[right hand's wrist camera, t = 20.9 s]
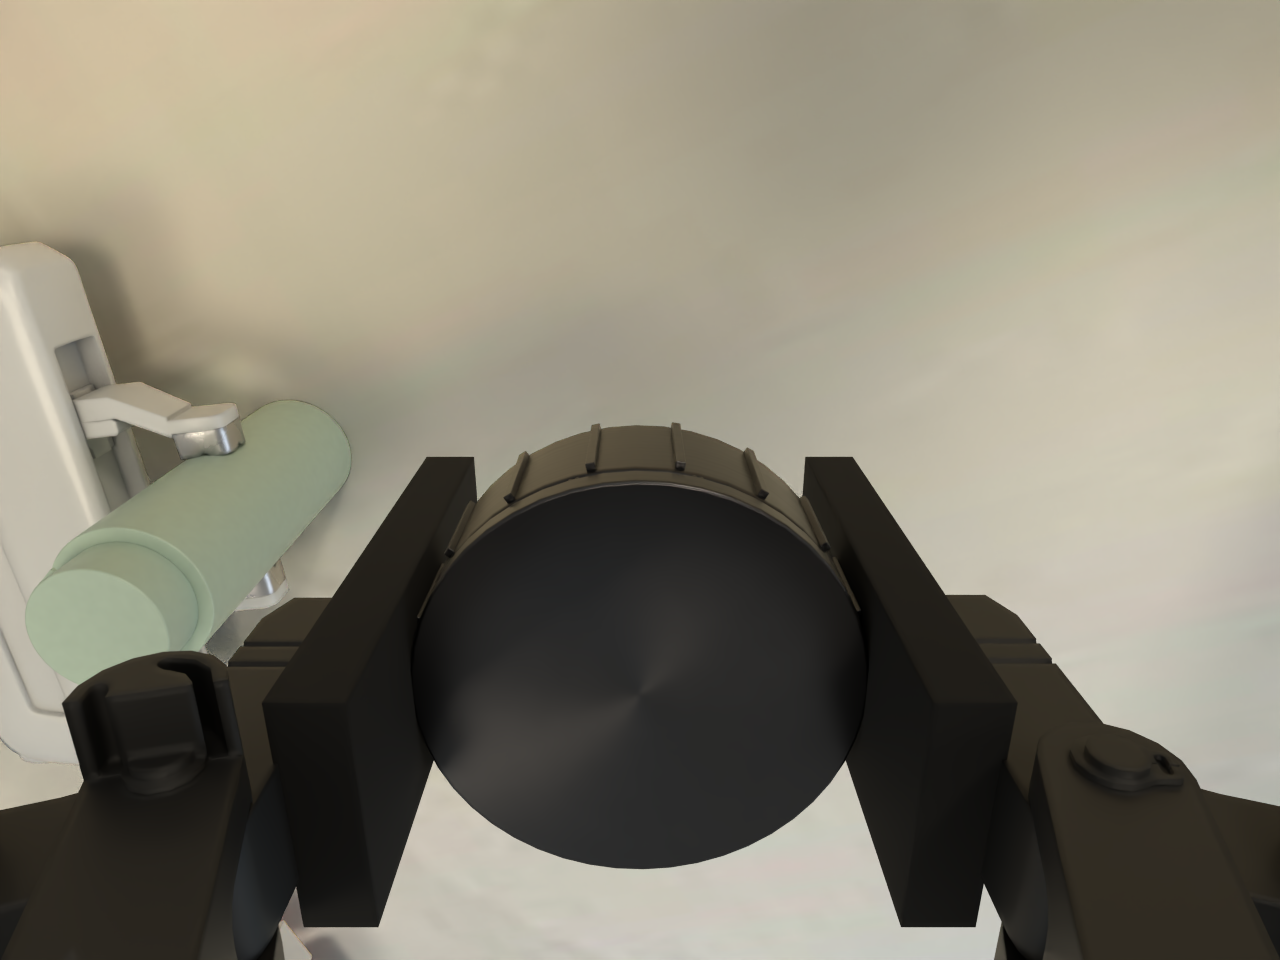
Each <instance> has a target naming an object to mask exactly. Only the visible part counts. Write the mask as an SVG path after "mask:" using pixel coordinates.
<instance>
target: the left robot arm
mask: <svg viewBox="0 0 1280 960" xmlns="http://www.w3.org/2000/svg"><path fill="white" fill-rule="evenodd" d="M133 426H137V427H140V428H143V429H146V430H149V431H152V432H155V433H158V434H160V435H163V436H166V437H169V438H173V439H174V442H175V445H176V447H177V450H178V453H179V456H180V459H181V460H182V459H192V458H197V457H200V456H202V455H203V454H207V455H209V456H219V455H224V454H228V453H230V452H233V451H234V450H236V449H237V447H238V445H242V444H244V443H245V442H246V440H245V436H244V433H243V429H242V425H241V421H240V417H239V413H238V410H237V407H236V404H235V403H231V402H230V403H221V404H211V405H202V406H192V405H191V403H189V402H187V401H184V400H182V399H180V398H177V397H175V396H173V395H170V394H168V393H166V392H163V391H161V390H159V389H156V388H154V387H152V386H149V385H147V384H145V383H142V382H132V383H123V384H116V382H115V379H114V376H113V373H112V370H111V367H110V364H109V361H108V358H107V355H106V352H105V349H104V346H103V343H102V340H101V337H100V335H99V332H98V329H97V326H96V323H95V320H94V317H93V314H92V311H91V308H90V305H89V302H88V299H87V296H86V293H85V290H84V287H83V284H82V281H81V278H80V275H79V272H78V269H77V267H76V265H75V263H74V262H73V261H72V260H71V259H70V258H68V257H67V256H65V255H64V254H62V253H60V252H58V251H56V250H54V249H53V248H51V247H49V246H47V245H45V244H43V243H41V242H36V241H34V242H27V243H19V244H12V245H5V246H0V739H1V740H2V742H3V743H4V744H5V745H6V746H7V747H8V748H9V749H11V750H12V751H14V752H15V753H17V754H19V755H20V758H21V759H23V760H24V761H26V762H30V763H38V764H43V763H59V764H73V765H79V762H78V758H77V755H76V751H75V748H74V745H73V741H72V738H71V734H70V731H69V727H68V724H67V720H66V717H65V713H64V710H63V706H62V702H63V701H64V700H65V699H66V698H67V697H68V696H69V695H70V694H71V692H72V691H73V690H74V689H75V688H76V687H77V686H78V684H76V683H74V682H72V681H70V680H68V679H66V678H64V677H63V676H61V675H60V674H58V673H57V672H56V671H54V670H53V669H52V668H51V667H50V666H49V665H48V664H46V663H45V661H44V660H43V659H42V658H41V657H40V656H39V654H38V653H37V651H36V650H35V649H34V647H33V645H32V643H31V641H30V639H29V636H28V633H27V629H26V625H25V609H26V605H27V602H28V599H29V597H30V595H31V593H32V592H33V590H34V589H35V587H36V586H37V585H38V584H39V583H40V582H41V581H42V579H43V578H44V577H45V576H46V574H47V573H48V572H49V571H50V569H52V566H53V563H54V561H55V559H56V557H57V555H58V554H59V552H60V551H61V549H62V548H63V547H64V546H65V545H66V544H67V543H68V542H70V541H71V540H72V539H74V538H75V537H76V536H78V535H79V534H81V533H82V532H84V531H85V530H86V529H88V528H89V527H91V526H92V525H94V524H95V523H97V522H98V521H99V520H101V519H102V518H104V517H105V516H107V515H108V514H109V513H111V512H112V511H114V510H115V509H117V508H118V507H119V506H121V505H122V504H124V503H125V502H127V501H128V500H129V499H131V498H132V497H134V496H135V495H137V494H138V493H139V492H141V491H142V490H144V489H145V488H147V487H148V486H149V485H150V482H149V479H148V476H147V473H146V470H145V467H144V464H143V461H142V458H141V455H140V452H139V449H138V446H137V443H136V441H135V438H134V435H133V432H132V429H131V427H133ZM288 590H289V587H288V583H287V580H286V576H285V573H284V569H283V566H282V563H281V559H279V560H278V561H277V562H276V563H275V564H274V565H273V567H272V568H271V569H270V570H269V571H268V572H267V573H266V575H265V576H264V577H263V578H262V579H261V580H260V582H259V583H258V584H257V585H256V586H255V587H254V588H253V590H252V591H251V592H250V593H249V594H248V595H247V597H246V598H245V599H244V600H243V601H242V602H241V603H240V605H239V606H238V607H237V608H236V609H235V610H234V611H244V610H253V609H263V608H268V607H271V606H273V605H276V604H277V603H279V602H280V601H281V599H282V598H283V597H284V595H285V594H286V593H287V592H288ZM198 652H201V653H205V654H208V653H207V650H206V647H205V645H204V646H203V647H202V648H201V649H200V650H199V651H198Z"/></svg>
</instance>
